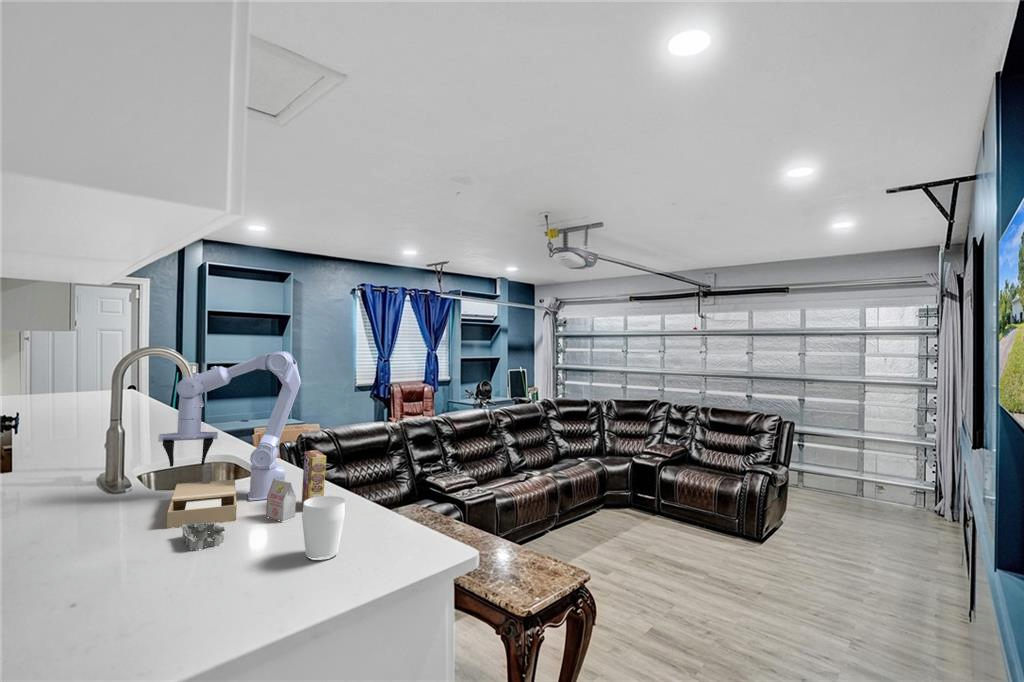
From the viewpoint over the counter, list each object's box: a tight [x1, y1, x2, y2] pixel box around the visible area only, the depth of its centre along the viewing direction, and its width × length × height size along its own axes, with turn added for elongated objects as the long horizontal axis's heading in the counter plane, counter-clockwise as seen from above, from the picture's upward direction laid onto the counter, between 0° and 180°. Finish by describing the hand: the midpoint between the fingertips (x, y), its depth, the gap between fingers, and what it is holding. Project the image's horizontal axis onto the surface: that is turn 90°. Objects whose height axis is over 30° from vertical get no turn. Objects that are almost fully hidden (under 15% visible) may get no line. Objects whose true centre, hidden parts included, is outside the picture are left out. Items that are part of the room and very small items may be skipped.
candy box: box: [301, 450, 327, 505], centre depth 147 cm, size 9×4×15 cm, turn 35°
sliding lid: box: [170, 467, 237, 503], centre depth 144 cm, size 15×16×4 cm
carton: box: [166, 495, 237, 529], centre depth 136 cm, size 15×16×4 cm
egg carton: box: [181, 522, 226, 551], centre depth 119 cm, size 11×8×4 cm
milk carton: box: [265, 479, 297, 521], centre depth 136 cm, size 4×7×10 cm, turn 61°
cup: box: [301, 495, 346, 558], centre depth 114 cm, size 9×9×12 cm
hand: (187, 464), depth 148 cm, fingers open, 7 cm apart
